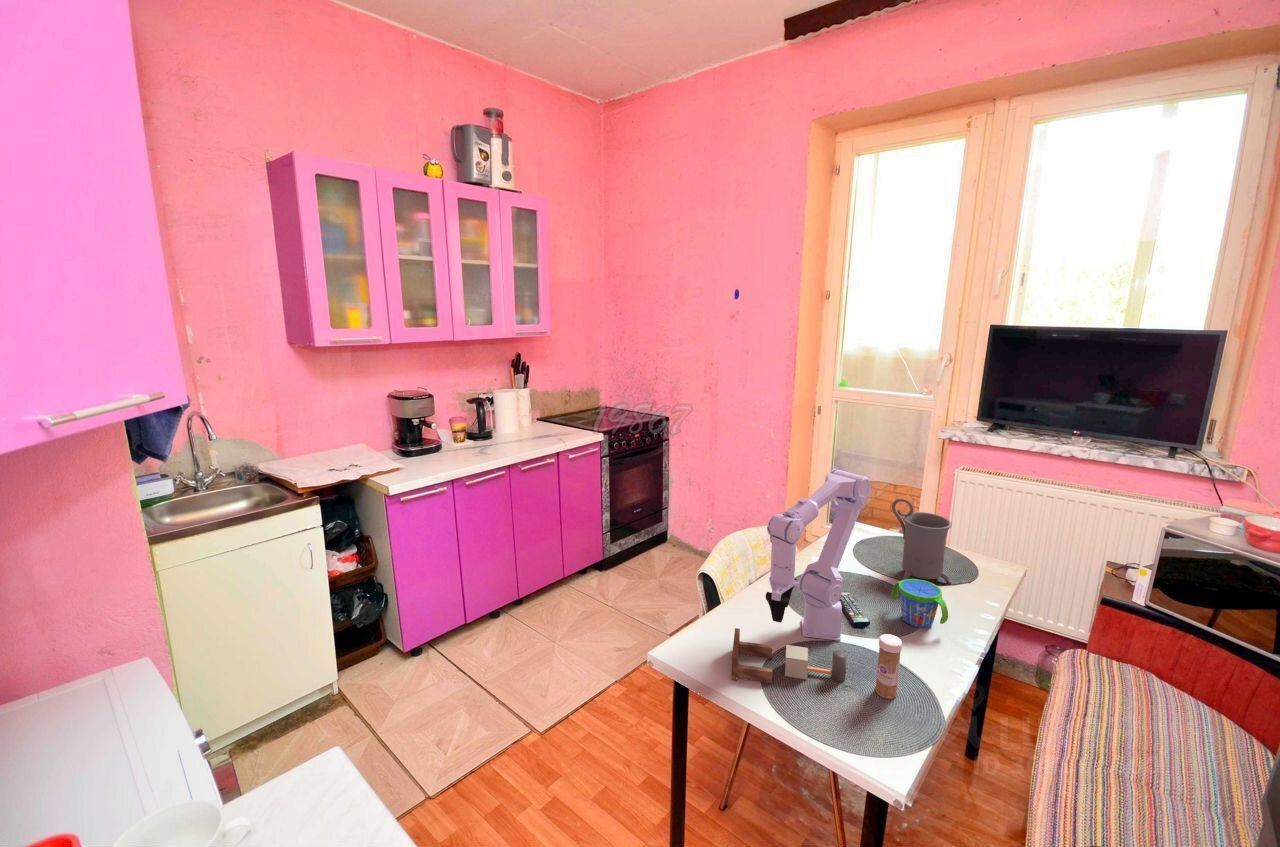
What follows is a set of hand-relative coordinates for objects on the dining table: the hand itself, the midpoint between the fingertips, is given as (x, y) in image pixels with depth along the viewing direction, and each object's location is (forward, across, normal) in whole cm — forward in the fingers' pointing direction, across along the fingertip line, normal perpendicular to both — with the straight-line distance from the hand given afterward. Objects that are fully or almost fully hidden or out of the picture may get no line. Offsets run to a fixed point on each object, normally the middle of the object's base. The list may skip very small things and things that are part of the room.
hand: (780, 613), depth 134 cm
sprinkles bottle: (+10, -6, -25) cm, 28 cm away
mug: (+10, +58, -33) cm, 67 cm away
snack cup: (+10, +29, -32) cm, 44 cm away
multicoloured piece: (+10, -6, -10) cm, 15 cm away
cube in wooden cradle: (+10, -9, +4) cm, 14 cm away
